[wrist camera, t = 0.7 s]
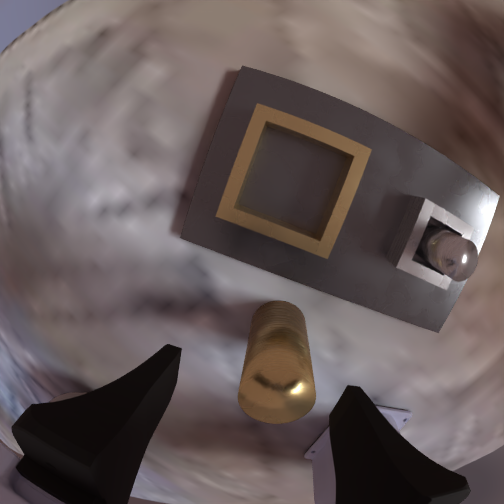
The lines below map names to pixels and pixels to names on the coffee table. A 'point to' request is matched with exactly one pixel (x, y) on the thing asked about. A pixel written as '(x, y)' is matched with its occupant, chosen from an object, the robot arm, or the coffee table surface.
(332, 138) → the plate
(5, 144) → the coffee table surface
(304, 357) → the brass fitting
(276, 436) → the coffee table surface
